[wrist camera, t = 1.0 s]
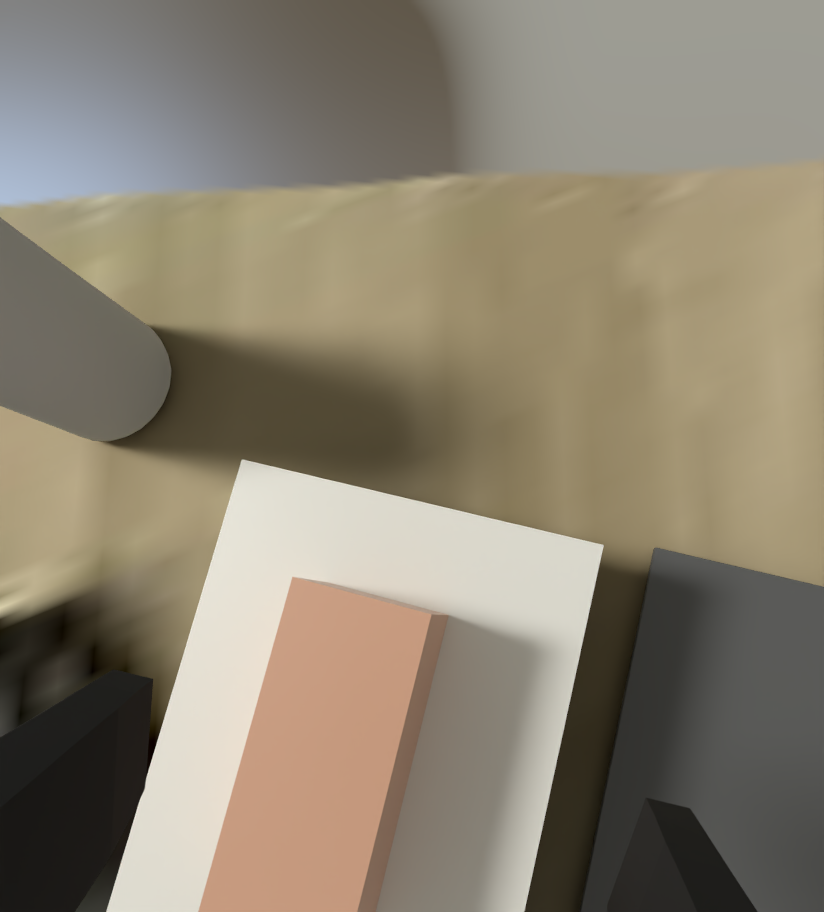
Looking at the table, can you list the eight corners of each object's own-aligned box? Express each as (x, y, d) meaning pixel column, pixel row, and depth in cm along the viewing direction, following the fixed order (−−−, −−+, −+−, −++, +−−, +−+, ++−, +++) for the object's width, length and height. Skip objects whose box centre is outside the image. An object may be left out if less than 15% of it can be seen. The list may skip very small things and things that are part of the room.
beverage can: (59, 452, 28) (-278, 338, 17) (63, 331, 29) (-251, 147, 18) (179, 437, 28) (-88, 307, 16) (179, 314, 29) (-72, 110, 17)
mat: (1025, 1252, 19) (1038, 1268, 18) (547, 1063, 22) (547, 1073, 21) (1091, 651, 21) (1104, 652, 21) (653, 548, 24) (655, 547, 23)
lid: (488, 1059, 20) (468, 1201, 15) (135, 917, 22) (20, 1000, 17) (599, 551, 22) (612, 532, 17) (266, 471, 24) (195, 435, 19)
